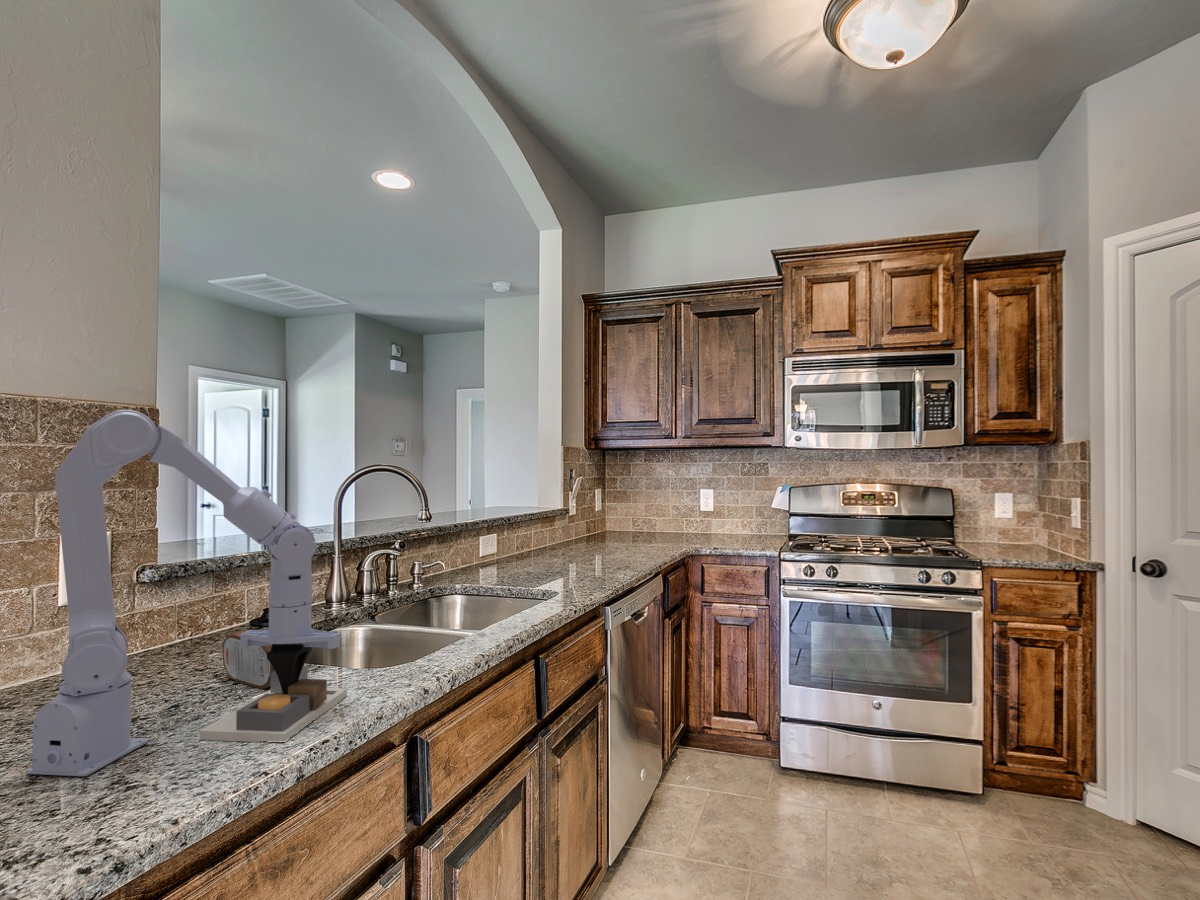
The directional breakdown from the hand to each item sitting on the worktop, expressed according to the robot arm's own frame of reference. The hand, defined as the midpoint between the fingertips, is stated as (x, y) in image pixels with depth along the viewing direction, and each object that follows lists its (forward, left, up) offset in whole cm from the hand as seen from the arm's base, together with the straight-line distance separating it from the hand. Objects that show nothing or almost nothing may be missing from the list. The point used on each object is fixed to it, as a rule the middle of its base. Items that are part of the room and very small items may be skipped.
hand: (289, 695), depth 94 cm
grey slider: (+5, +3, -1) cm, 7 cm away
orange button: (-6, -1, -1) cm, 6 cm away
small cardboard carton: (0, -3, -1) cm, 3 cm away
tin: (+12, +14, -3) cm, 19 cm away
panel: (-1, +1, -3) cm, 3 cm away
